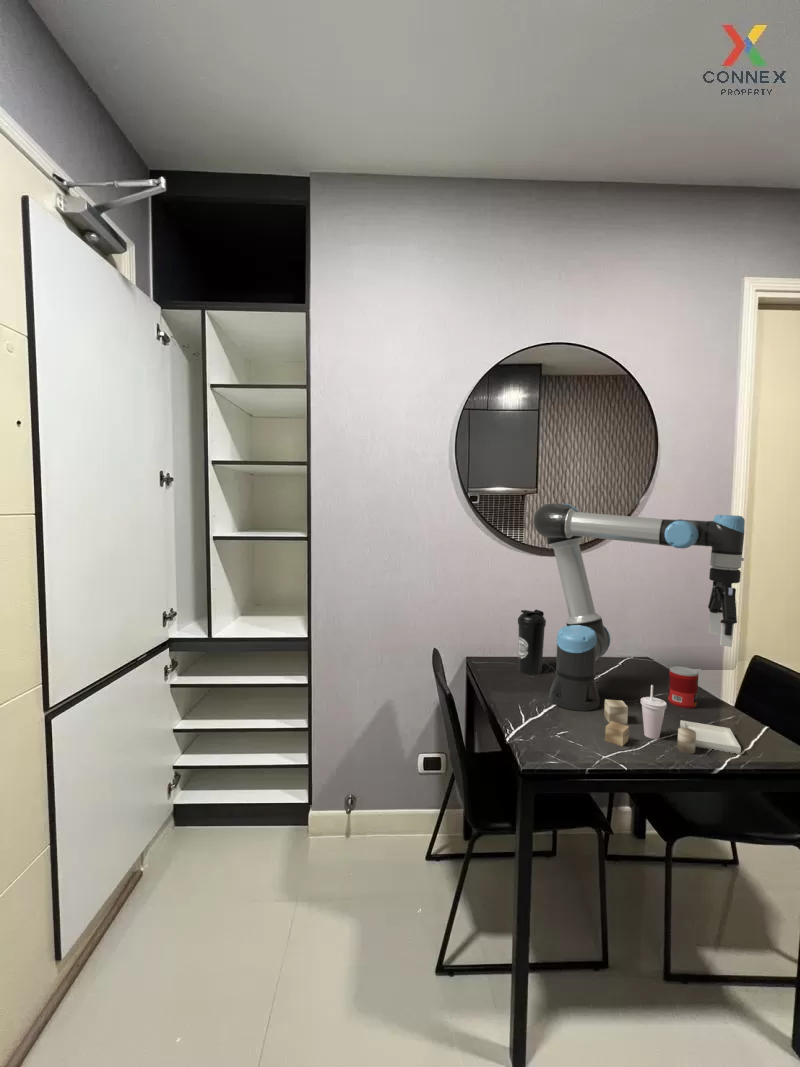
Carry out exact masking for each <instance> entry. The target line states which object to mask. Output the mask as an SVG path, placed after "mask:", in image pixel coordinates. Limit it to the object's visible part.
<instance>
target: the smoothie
mask: <svg viewBox="0 0 800 1067" xmlns="http://www.w3.org/2000/svg"><path fill="white" fill-rule="evenodd" d="M640 704H641V710H642V713H641V714H642V722H643V732H644V733H643V734H644V736H645V737H646V738H648V739H652V740H658V739H660V736H661V731H662V725H663V722H664V715H665V712H666V711H665V710H666V709H667V708H668V706H667V702H666V701H665V700H663V699H660V698H657V697H654V684H651V685H650V696H645V697H644V696H643V697H641V698H640Z"/></svg>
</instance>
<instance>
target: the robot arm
mask: <svg viewBox="0 0 800 1067" xmlns="http://www.w3.org/2000/svg"><path fill="white" fill-rule="evenodd" d="M745 524H746V522H745V518H744V517H743V516H741V515H734V514H733V515H729V514H716V515H714V518H713V519H712V520H695V519H694V520H693V519H681V518H678V519H663V518H656V517H655V518H652V517H641V516H630V515H629V516H627V515H618V514H607V513H606V514H605V513H595V512H594V513H592V512H582V511H581V512H580V511H579V510H578V509H577V508H576V507H574V506H572V505H570V504H568V503H546V504H544V505H541V506H540V507H539V508H538V509H537V510H536V512H535V513H534V516H533V526H534V529H535V530H536V532H537V533H538V534H539V535H541V537H544V538H546V542H547V545H548V546H549V547H550V548H551V549H553V551H554V552H553V553H554V556H555V560H556V566H557V568H558V572H559V573H558V574H559V577H560V581H561V587H562V590H563V594H564V595H563V596H564V599H565V603H566V608H567V612H568V616H569V617H568V619H567V620H566V622H565V624H566V625H565V626H563V627H561V628H560V629H559V630H558V632H557V636H556V664H555V665H556V667H555V668H556V669H555V677H554V680H553V681H552V684H551V687H550V689H549V695H548V696H549V700H550V702H552V704H554V705H556V706H558V707H561V708H564V709H567V710H571V711H581V712H582V711H583V712H584V711H587V712H589V711H592V710H596V709H598V708H599V707H600V700H601V698H600V695H599V691H598V687H597V685H596V681H595V678H596V676H595V674H596V673H595V672H596V661H597V660H598V659H599V658H600V657H603V656H604V655H605V654H606V652H607V651H608V649H609V648H610V646H611V645H610V644H611V635H610V632H609V631H608V628H606V626H604V623H603V617H602V616H601V615H600V614H598V613H597V612H596V610H595V606H594V601H593V598H592V597H593V596H592V593H591V589H590V588H591V587H590V584H589V581H588V576H587V571H586V568H585V563H584V559H583V555H582V550H581V547H580V543H581V541H582V540H583V538H593V539H603V540H611V541H612V540H613V541H620V542H621V541H622V542H630V543H640V544H648V545H659V546H666V547H673V548H676V549H687V548H690V547H692V546H697V547H698V546H699V547H711V552H710V562H709V563H710V566H711V567H710V569H709V574H708V575H709V577H708V579H709V580H710V581H712V588H711V593H710V597H709V602H708V606H707V608H708V609H709V619H708V630H707V633H708V634H709V635H716V636H719V635H720V638H719V639H720V642H719V646H720V647H728V648H732V647H733V639H734V628H735V627H734V626H735V624H737V623H738V619H737V600H736V592H737V589H736V588H735V587H732V585H733V584H739V583H740V582H741V575H742V571H741V570H740V569H741V568H742V562H744V560H745V558H744V557H743V549H744V542H745V541H744V540H745V527H746V526H745ZM721 616H722V619H721ZM720 625H721V626H720ZM720 627H721V628H720Z"/></svg>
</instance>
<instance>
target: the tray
mask: <svg viewBox="0 0 800 1067" xmlns="http://www.w3.org/2000/svg"><path fill="white" fill-rule="evenodd" d="M679 721H680V722H679V728H689V729H692V730H694V731H695V732H696V745H695V748H696V747H697V748H703V749H706V748H707V750H712V749H714V750H713V751H717V750H719V751H720V752H723V751H724V752H723V753H729V752H730V754H734V753H736V754H735V755H740V754H741V751H742V748H741V745H740V743H739V741H738V740H737V738H736V737H735V735H734V733H733V732H732V730H731V728H730V727H726V726H724V727H723V726H720V725H719V726H717V725H712V724H706V723H699V722H696V721H695V722H694V721H687V720H683V719H682V720H681V719H680V720H679ZM719 751H718V752H719Z"/></svg>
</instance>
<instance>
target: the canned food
mask: <svg viewBox="0 0 800 1067" xmlns="http://www.w3.org/2000/svg"><path fill="white" fill-rule="evenodd" d="M698 686H699V672H698V670H695V669H693V668H690V667H686V666H676V665H675V666H671V667H669V674H668V694H667V699H668V702H669V704H671V705H673V706H675V707H678V708H681V709H682V708H683V709H695V708H696V707H697V704H698V689H699V687H698Z"/></svg>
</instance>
